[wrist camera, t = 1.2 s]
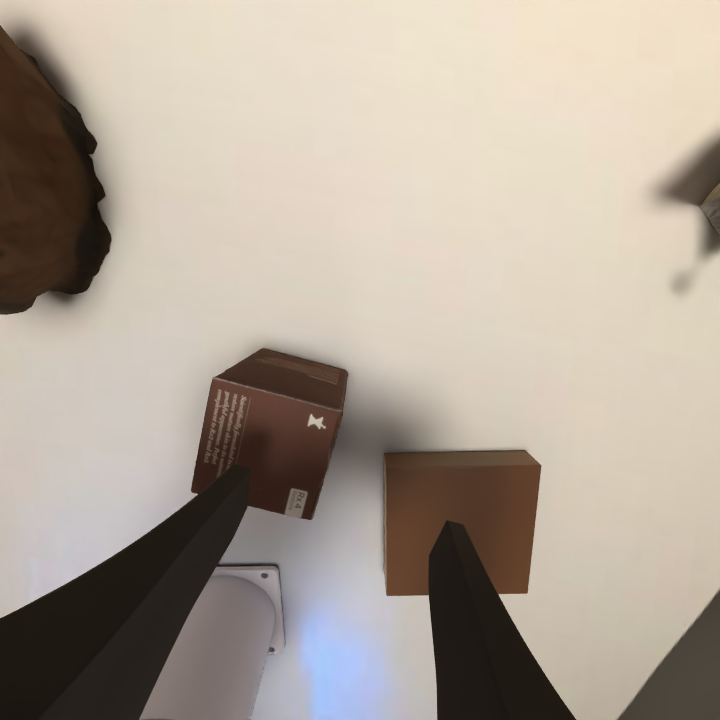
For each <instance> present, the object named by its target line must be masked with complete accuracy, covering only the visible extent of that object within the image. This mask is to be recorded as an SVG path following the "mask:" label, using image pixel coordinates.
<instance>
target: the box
mask: <svg viewBox="0 0 720 720" xmlns="http://www.w3.org/2000/svg"><path fill="white" fill-rule="evenodd" d="M347 377H348V373H347V371H345V370H341V369H337V368H333V367H330V366H325V365H322V364H318V363H314V362H311V361H307V360H303V359H300V358H296V357H292V356H288V355H285V354H281V353H277V352H273V351H269V350H266V349H260V350H259V351H257V352H256V353H254V354H252V355H250V356H249V357H247V358H246V359H244V360H242V361H241V362H239V363H238V364H236V365H234V366H233V367H231V368H229V369H227V370H226V371H225V372H224V373H222V374H220V375H218V376H216V377H214V378H213V380H212V383H211V387H210V393H209V397H208V402H207V407H206V412H205V417H204V423H203V428H202V434H201V439H200V444H199V449H198V455H197V460H196V465H195V470H194V476H193V481H192V487H191V492H193V493H196V494H199V493H200V492H202V491H203V490H204V489H205V488H206V487H208V486H209V485H210V484H211V483H212V482H213V481H215V480H216V479H217V478H218V477H219V476H220V475H221V474H222V473H224V472H225V471H226V470H227V469H228V468H229V467H230V466H231V465H233V464H237V465H241V466H244V467H248V468H251V471H250V482H249V493H248V505H247V506H252V507H255V508H260V509H264V510H267V511H271V512H276V513H280V514H283V515H287V516H292V517H297V518H302V519H308V520H312V519H313V517H314V512H315V509H316V506H317V503H318V499H319V495H320V492H321V489H322V485H323V481H324V478H325V475H326V472H327V469H328V465H329V461H330V458H331V453H332V450H333V447H334V443H335V440H336V437H337V433H338V429H339V427H340V423H341V419H342V416H343V407H344V401H345V394H346V385H347Z"/></svg>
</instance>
